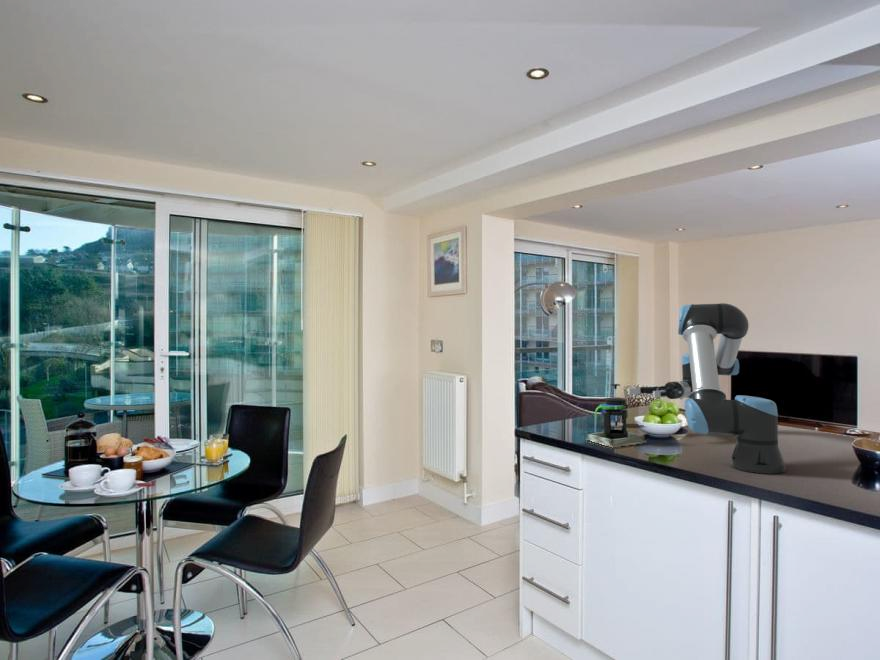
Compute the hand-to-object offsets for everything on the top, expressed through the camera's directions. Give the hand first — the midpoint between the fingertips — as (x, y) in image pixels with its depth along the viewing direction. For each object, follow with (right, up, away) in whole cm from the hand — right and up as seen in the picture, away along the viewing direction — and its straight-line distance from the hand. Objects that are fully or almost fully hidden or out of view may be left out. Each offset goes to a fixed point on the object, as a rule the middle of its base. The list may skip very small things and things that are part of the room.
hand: (640, 393), depth 215 cm
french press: (-12, -19, -5) cm, 23 cm away
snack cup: (-2, -20, +31) cm, 36 cm away
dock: (-13, -20, -5) cm, 24 cm away
